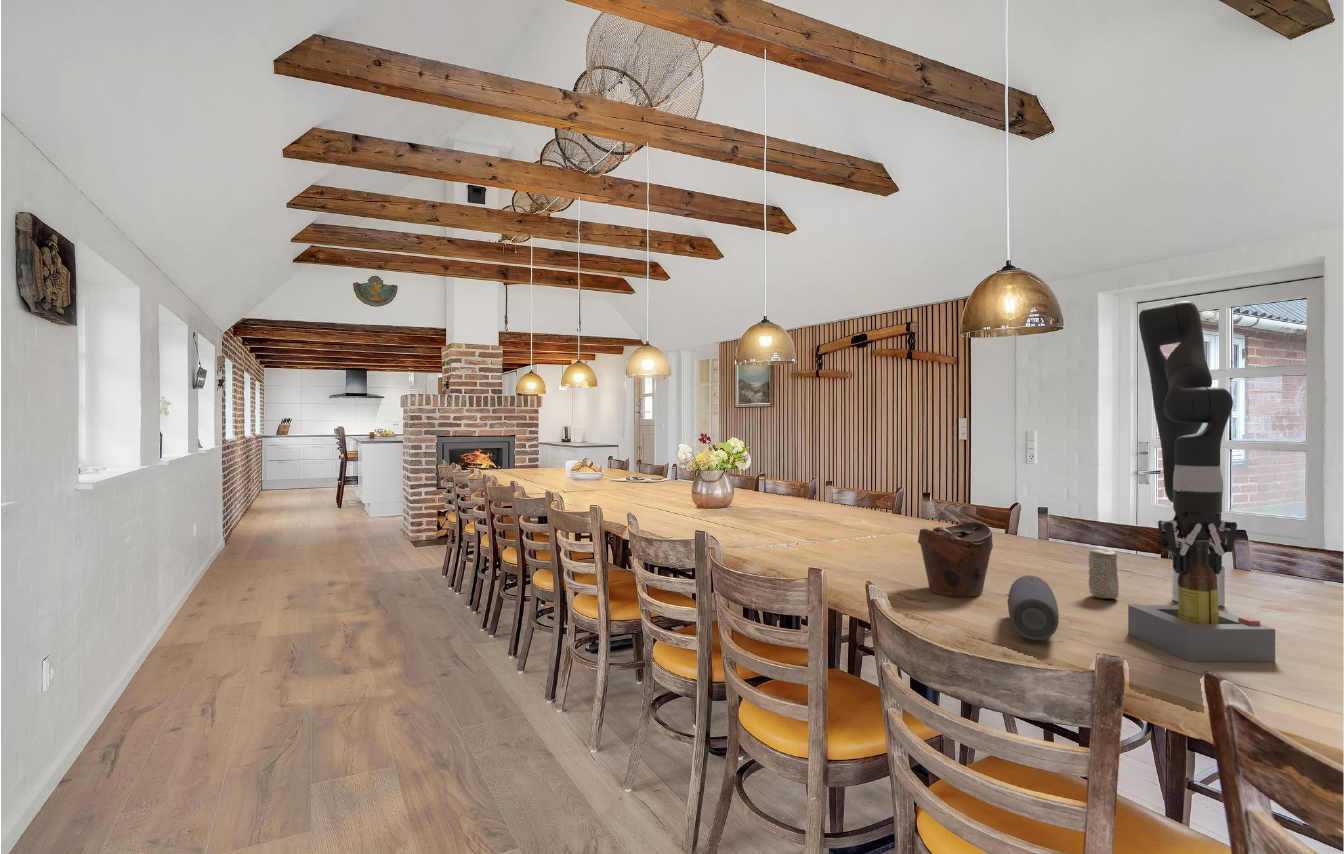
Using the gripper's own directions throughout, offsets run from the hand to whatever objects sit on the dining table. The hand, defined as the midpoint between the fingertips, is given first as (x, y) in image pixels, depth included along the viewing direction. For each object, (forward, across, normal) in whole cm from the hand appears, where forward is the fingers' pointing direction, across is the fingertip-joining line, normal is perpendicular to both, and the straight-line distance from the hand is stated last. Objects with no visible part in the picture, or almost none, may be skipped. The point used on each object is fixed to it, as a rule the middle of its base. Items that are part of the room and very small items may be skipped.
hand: (1197, 573), depth 128 cm
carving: (+15, -5, -36) cm, 39 cm away
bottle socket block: (+15, 0, 0) cm, 15 cm away
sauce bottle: (+13, 0, 0) cm, 13 cm away
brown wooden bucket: (+15, +30, -42) cm, 54 cm away
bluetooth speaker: (+15, +27, -10) cm, 32 cm away
